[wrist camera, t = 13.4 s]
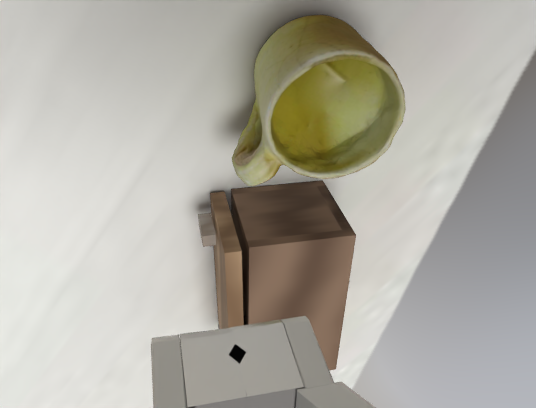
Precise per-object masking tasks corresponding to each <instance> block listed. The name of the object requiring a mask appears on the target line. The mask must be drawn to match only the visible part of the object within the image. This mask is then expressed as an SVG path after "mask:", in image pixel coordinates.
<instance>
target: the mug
mask: <svg viewBox="0 0 536 408" xmlns="http://www.w3.org/2000/svg"><path fill="white" fill-rule="evenodd" d="M254 81H255V93H256V99H255V103H254V105H253V109H252V113H251V115H250V118H249V121H248V125H247V126H246V127H245V129H244V130H243V132H242V134H241V136H240V138H239V141H238V145H237V147H236V149H235V151H234V154H233V157H232V162H233V166H234V168H235V171H236V174H237V175H238V176H239V178H240V179H241V180H242V181H243V182H244V183H245V184H247V185H248V186H255V185H258V184H261V183H264V182H266V181H268V180H269V179H271V178H272V177H273V176H275V174H276V173H277V171H278V169H279V167H280V166H281V165H285V166H287V167H289V168H290V169H292V170H293V171H294V172H296V173H298V174H301V175H304V176H308V177H313V178H320V179H329V178H337V177H342V176H345V175H348V174H351V173H354V172H357V171H359V170H361V169H363V168H365V167H367V166H369V165H370V164H372V163H374V162H375V161H376V160H377V159H378V158H379V157H380V156H381V155H382V154H383V153H385V152H386V151H387V150H388V148H389V147H390V145H391V142H392V140H393V137H394V135H395V133H396V132H397V130H398V129H399V127H400V126H401V124H402V122H403V117H404V113H405V99H404V91H403V88H402V85H401V83H400V81H399V79H398V77H397V74H396V72H395V71H394V69H393V68H392V67H391V65H390V64H389V63H388V62H387V61H386V59H385V58H384V57H383V56H382V55H381V54H379V53H378V52H377V51H376V50H375V49H374V48H373V47H372V46H371V45H370V44H369V43H368V42H367V41H366V40H364V39H363V38H362V37H361V36H360V34H359V33H358V32H357V31H356V30H355V29H354V28H352V27H351V26H350V25H349V24H347V23H346V22H344V21H342V20H340V19H337V18H334V17H331V16H327V15H311V16H304V17H301V18H297V19H295V20H292V21H290V22H288V23H287V24H285V25H284V26H282V27H280V28H279V29H278V30H277V31H275V32H274V33H273V34H272V35H271V36H270V38H269V39H268V40H267V41H266V43H265V44H264V45H263V47H262V48H261V50H260V52H259V54H258V56H257V59H256V62H255V68H254Z"/></svg>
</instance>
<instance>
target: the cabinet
mask: <svg viewBox="0 0 536 408" xmlns="http://www.w3.org/2000/svg"><path fill="white" fill-rule="evenodd" d="M231 214H232V219H233V223H234V226H235V230H236V233H237V237H238V240H239V244H240V247H241V251H242V284H243V321H244V325H248V324H254V323H261V322H267V321H273V320H281V319H288V318H294V317H301V316H306V317H307V318H308V319H309V321H310V324H311V326H312V329H313V331H314V334H315V336H316V339H317V341H318V344H319V346H320V349H321V351H322V354H323V356H324V359H325V361H326V364H327V366H328V369H329V370H334V369H336V364H337V358H338V351H339V344H340V338H341V331H342V324H343V318H344V311H345V304H346V298H347V291H348V285H349V278H350V271H351V265H352V258H353V251H354V245H355V238H356V234H355V233H354V231H353V229H352V228H351V226H350V225H349V223H348V221H347V220H346V218H345V216H344V215H343V213H342V211H341V210H340V208H339V206H338V205H337V203H336V202H335V200H334V198H333V197H332V195H331V193H330V192H329V190H328V188H327V187H326V185H325V183H324V182H323V181H313V182H302V183H291V184H281V185H270V186H259V187H248V188H238V189H231Z"/></svg>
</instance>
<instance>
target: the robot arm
mask: <svg viewBox="0 0 536 408" xmlns="http://www.w3.org/2000/svg"><path fill="white" fill-rule="evenodd" d="M180 345H181V348H180ZM181 356H182V357H181ZM151 357H152V382H153V407H154V408H376V407H374V406H373V405H372V404H370V403H369V402H368V401H366V400H365V399H364V398H362V397H361V396H360V395H358V394H357V393H356V392H354V391H353V390H352V389H351V388H349V387H348V386H347V385H345V384H344V383H343V382H337V383H334V381H333V379H332V376H331V374H330V371H329V369H328V366H327V364H326V361H325V359H324V356H323V354H322V351H321V349H320V346H319V344H318V341H317V339H316V336H315V334H314V331H313V329H312V326H311V324H310V321H309V319H308V318H307V317H306V316H301V317H294V318H288V319H281V320H273V321H267V322H261V323H254V324H248V325H242V326H235V327H230V328H226V329H217V330H209V331H201V332H193V333H184V334H180V339H179V335H171V336H163V337H155V338H152V342H151ZM182 366H183V367H182Z"/></svg>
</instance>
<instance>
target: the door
mask: <svg viewBox="0 0 536 408" xmlns="http://www.w3.org/2000/svg"><path fill="white" fill-rule="evenodd" d="M210 200H211V213H206V214H198V219H199V227H200V233H201V238H202V243H203V247H205V246H213V245H214V261H215V276H216V291H217V306H218V321H219V324H218V327H219V329H226V328H230V327H235V326H242V325H244V321H243V284H242V251H241V247H240V244H239V240H238V237H237V233H236V230H235V226H234V223H233V219H232V216H231V212H230V209H229V205H228V202H227V198H226V195H225V192H216V193H210ZM211 215H212V217H211Z"/></svg>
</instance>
